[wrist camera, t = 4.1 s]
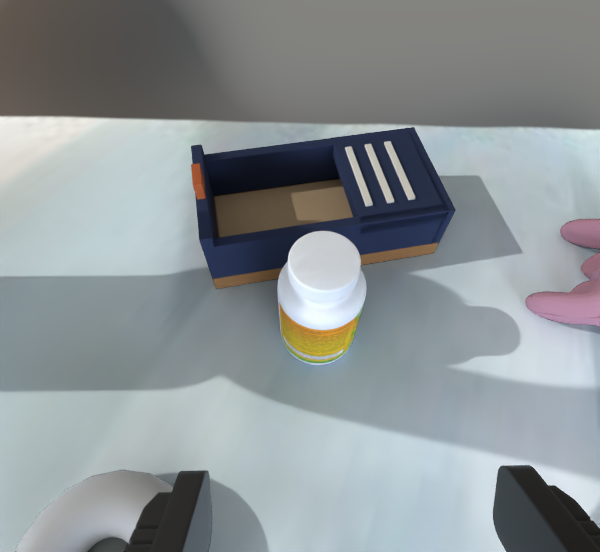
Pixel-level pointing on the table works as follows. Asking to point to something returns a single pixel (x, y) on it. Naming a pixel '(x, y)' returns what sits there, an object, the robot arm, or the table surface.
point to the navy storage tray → (317, 201)
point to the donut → (92, 512)
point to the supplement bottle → (320, 297)
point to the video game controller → (584, 297)
